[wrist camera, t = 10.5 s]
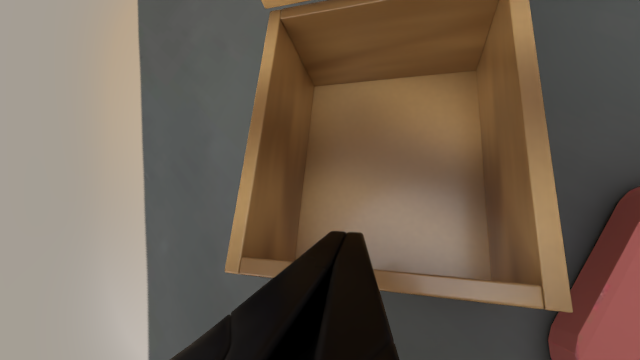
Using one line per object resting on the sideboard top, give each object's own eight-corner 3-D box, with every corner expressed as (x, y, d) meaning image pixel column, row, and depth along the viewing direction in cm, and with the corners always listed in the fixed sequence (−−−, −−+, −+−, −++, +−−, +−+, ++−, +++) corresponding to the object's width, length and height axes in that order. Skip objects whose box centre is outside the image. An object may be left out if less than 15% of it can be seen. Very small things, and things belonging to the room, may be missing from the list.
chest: (504, 296, 17) (573, 313, 10) (287, 272, 21) (223, 272, 14) (485, 67, 21) (524, -38, 14) (309, 85, 25) (269, 10, 18)
